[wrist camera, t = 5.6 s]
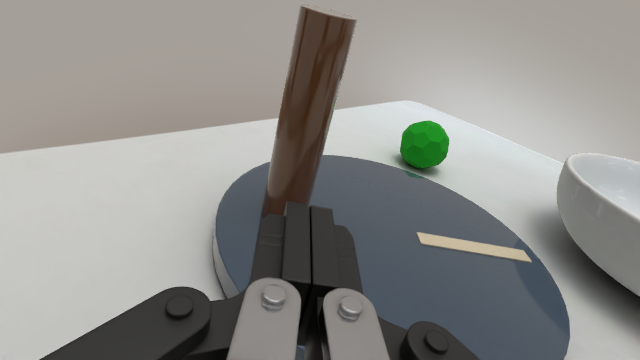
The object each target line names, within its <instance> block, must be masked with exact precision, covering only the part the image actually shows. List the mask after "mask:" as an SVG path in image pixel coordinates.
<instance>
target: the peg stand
mask: <svg viewBox="0 0 640 360" xmlns="http://www.w3.org/2000/svg"><path fill="white" fill-rule="evenodd" d="M356 23H357V19H356V18H354V17H352V16H349V15H346V14H343V13H340V12H336V11H333V10H329V9H325V8H320V7H316V6H311V5H300V9H299V14H298V19H297V24H296V30H295V35H294V41H293V46H292V51H291V56H290V62H289V67H288V72H287V78H286V83H285V88H284V93H283V99H282V104H281V109H280V115H279V120H278V125H277V130H276V136H275V141H274V146H273V152H272V157H271V162H268V163H265V164H262V165H260V166H258V167H255V168H253V169H252V170H250V171H248V172H247V173H245V174H243V175H242V176H241V177H240V178H238V179H237V180H236V181H235V182H234V183H233V184H232V185H231V186H230V187H229V189H228V190H227V191H226V193H225V194H224V196H223V198H222V200H221V202H220V204H219V206H218V210H217V215H216V219H215V226H214V235H213V257H214V262H215V268H216V273H217V275H218V278H219V280H220V283H221V286H222V288H223V291H224V293H225V295H226V296H227V298H231V297H234V296H236V295H238V294H239V293H241V292H242V291H243V290H245V288H246V287H247V286H248V284H249V280H250V275H251V269H252V263H253V258H254V253H255V247H256V242H257V237H258V232H259V227H260V222H261V221H262V220H263V219H264V218H265V217H266V216H267V214H268V213H270V214H276V215H282V216H283V215H284V211H285V206H286V203H287V201H291V202H296V203H302V204H308V205H309V206H310V205H314V206H319V207H325V208H331V209H332V210H333V217H334V224H335V225H341V226H346V228H347V229H348V231H349V232H350V233H351V235H352V236H353V239H354V244H355V251H356V255H357V261H358V266H359V272H360V278H361V283H362V289H363V294H364V296H365V297H367V298H368V299H369V300H370V302H371V303H372V304H373V306H374V308H375V310H376V314H377V315H378V316H379V317H381V318H382V319H384V320H386V321H388V322H390V323H392V324H395V325H397V326H399V327H402V328H404V329H407V330H408V329H409V328H410V326H411V325H412V324H414V323H415V322H419V321H428V322H432V323H435V324H438V325H440V326H442V327H443V328H445V329H446V330H447V331H449V332H450V333H451V334H452V335H453V336H454V337H456V338H457V339H458V340H459V341H460V342H461V343H462V344H463V345H465V346H466V347H467V348H468V349H469V350H470V351H471V352H472V353H474V354H475V355H476V356H477V357H478V358H479V359H480V360H564V358H565V356H566V354H567V349H568V344H569V340H570V326H569V317H568V313H567V309H566V305H565V302H564V300H563V298H562V295H561V293H560V290H559V288H558V286H557V285H556V283H555V281H554V280H553V278H552V276H551V274H550V273H549V272H548V270H547V269H546V267H545V266H544V265H543V263H542V262H541V261H540V259H539V258H538V257H537V256H536V255H535V254H534V253H533V251H532V250H531V249H530V248H529V247H528V246H527V245H526V244H525V243H524V242H523V241H522V240H521V239H520V238H519V237H518V236H517V235H516V234H515V233H514V232H512V231H511V230H510V229H509V228H508V227H506V226H505V225H504V224H503V223H502V222H500V221H499V220H498V219H496V218H495V217H494V216H492V215H491V214H490V213H488V212H487V211H485V210H484V209H482V208H481V207H479V206H478V205H476V204H475V203H473V202H472V201H470V200H468V199H466V198H465V197H463V196H461V195H459V194H458V193H456V192H454V191H452V190H450V189H448V188H446V187H444V186H442V185H440V184H438V183H435V182H433V181H431V180H429V179H426V178H424V177H421V176H419V175H416V174H414V173H411V172H408V171H405V170H402V169H399V168H396V167H393V166H389V165H385V164H382V163H378V162H373V161H369V160H364V159H358V158H352V157H344V156H333V155H322V154H323V150H324V146H325V143H326V139H327V135H328V131H329V127H330V123H331V119H332V116H333V112H334V107H335V104H336V100H337V96H338V92H339V89H340V85H341V81H342V77H343V73H344V69H345V65H346V62H347V57H348V54H349V50H350V46H351V42H352V38H353V34H354V31H355V27H356ZM304 358H305V346H300V345H297V346H296V355H295V360H304Z"/></svg>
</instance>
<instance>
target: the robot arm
mask: <svg viewBox="0 0 640 360" xmlns="http://www.w3.org/2000/svg"><path fill="white" fill-rule="evenodd" d="M297 345H300V346H305V358H304V360H480V359H479V358H478V357H477V356H476V355H475V354H474V353H472V352H471V351H470V350H469V349H468V348H467V347H466V346H465V345H463V344H462V343H461V342H460V341H459V340H458V339H457V338H456V337H454V336H453V335H452V334H451V333H450V332H449V331H447V330H446V329H445V328H443V327H442V326H440V325H438V324H435V323H432V322H428V321H419V322H415V323H414V324H412V325H411V326H410V328H409V329H408V330H407V329H404V328H402V327H399V326H397V325H395V324H392V323H390V322H388V321H386V320H384V319H382V318H381V317H379V316H378V315H377V314H376V310H375V308H374V306H373V304H372V303H371V302H370V300H369V299H368V298H367V297H365V296H364V294H363V289H362V283H361V278H360V272H359V266H358V261H357V255H356V251H355V244H354V239H353V236H352V235H351V233H350V232H349V231H348V229H347V228H346V226H341V225H335V224H334V217H333V210H332V209H331V208H325V207H319V206H314V205H310V206H309V205H308V204H302V203H296V202H291V201H287V203H286V206H285V211H284V215H283V216H282V215H276V214H270V213H268V214H267V216H266V217H265V218H264V219H263V220H262V221H261V222H260V227H259V232H258V237H257V242H256V247H255V253H254V258H253V263H252V269H251V275H250V280H249V284H248V286H247V287H246V288H245V290H243V291H242V292H241V293H239V294H238V295H236V296H234V297H231V298H228V299H223V300H216V301H210V300H209V299H208V297H207V296H206V295H205V294H204V293H202V292H201V291H199V290H197V289H194V288H190V287H174V288H169V289H166V290H164V291H162V292H160V293H158V294H156V295H154V296H153V297H151V298H149V299H147V300H145V301H144V302H142V303H140V304H138V305H136V306H135V307H133V308H131V309H129V310H127V311H126V312H124V313H122V314H120V315H119V316H117V317H115V318H113V319H111V320H110V321H108V322H106V323H104V324H102V325H101V326H99V327H97V328H95V329H93V330H92V331H90V332H88V333H86V334H84V335H83V336H81V337H79V338H77V339H76V340H74V341H72V342H70V343H68V344H67V345H65V346H63V347H61V348H59V349H58V350H56V351H54V352H52V353H50V354H49V355H47V356H45V357H43V358H41V359H40V360H295V355H296V346H297Z"/></svg>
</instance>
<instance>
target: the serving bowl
mask: <svg viewBox="0 0 640 360" xmlns="http://www.w3.org/2000/svg"><path fill="white" fill-rule="evenodd" d="M557 204H558V209H559V213H560V216H561V218H562V221H563V223H564V225H565V227H566V229H567V231H568V232H569V234H570V235H571V237H572V238H573V240H574V241H575V242H576V244H577V245H578V246H579V247H580V248H581V249H582V250H583V252H584V253H585V254H586V255H587V256H588V257H589V258H590V259H591V260H592V261H594V262H595V263H596V264H597V265H598V266H599V267H600V268H601V269H603V270H604V271H605V272H606V273H607V274H609V275H610V276H611V277H612V278H614V279H615V280H616V281H618V282H619V283H620V284H622V285H623V286H625V287H626V288H628V289H629V290H630V291H632V292H633V293H635V294H636V295H638V296H639V297H640V162H637V161H633V160H629V159H624V158H620V157H615V156H610V155H604V154H595V153H576V154H573V155H570V156H569V157H568V158H567V159H566V161H565V163H564V166H563V169H562V171H561V174H560V177H559V181H558V186H557Z"/></svg>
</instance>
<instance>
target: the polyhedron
mask: <svg viewBox="0 0 640 360" xmlns="http://www.w3.org/2000/svg"><path fill="white" fill-rule="evenodd" d="M448 146H449V138H448V136H447V134H446V133H445V131H444V129H443V128H442V127H441V126H440V125H439V124H437V123H434V122H432V121H422V122H418V123H414V124H412V125H410V126H409V127H408V128H407V129H406V130H405V131H404V132H403V135H402V141H401V148H400V152H401V154H402V156H403V158H404V160H405V161H406V162H407V163H408V164H409V165H411V166H414V167H416V168H418V169H420V168H426V167H431V166H436V165H439V164H440V163H441V162H442V161H443V160H444V159H445V158H446V156H447V152H448Z"/></svg>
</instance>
